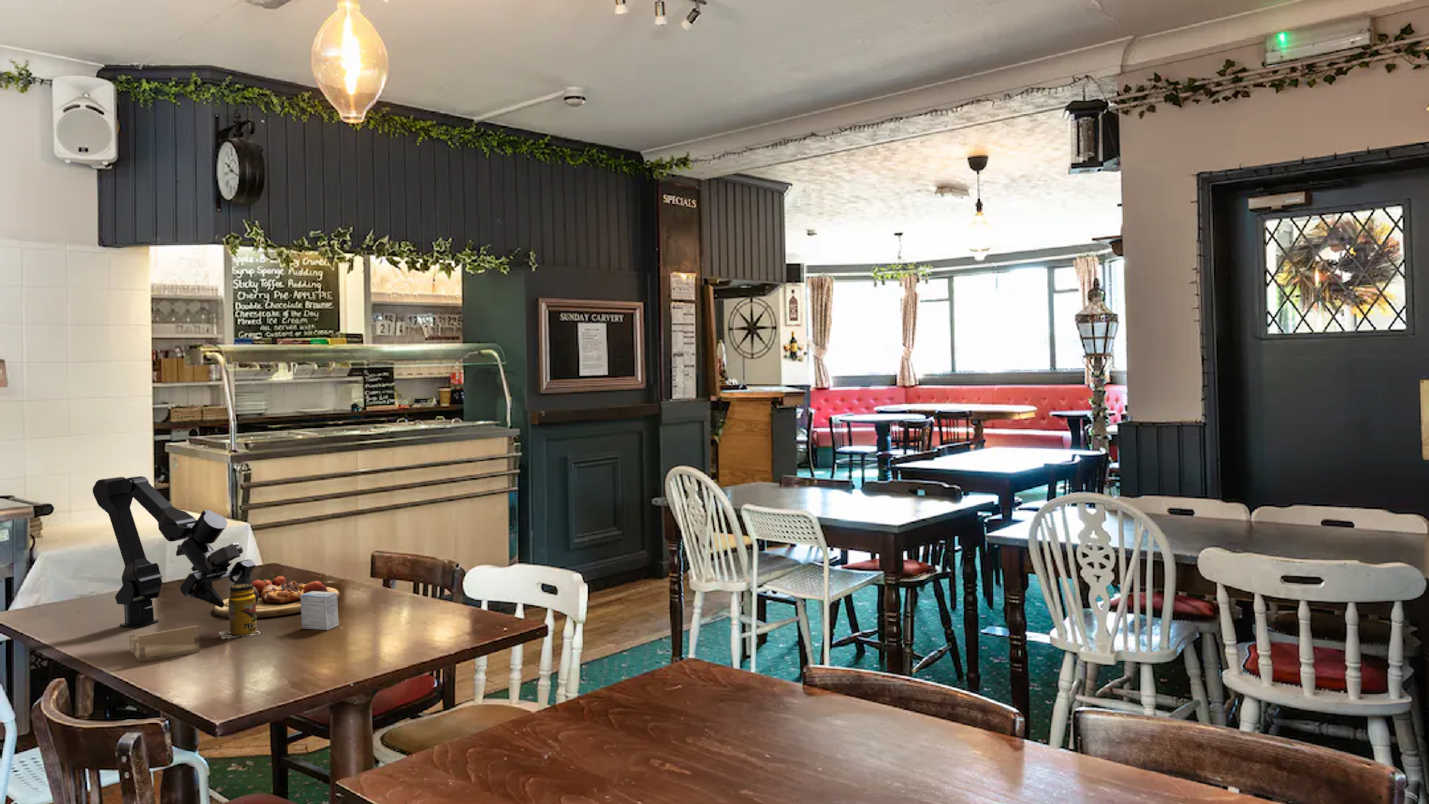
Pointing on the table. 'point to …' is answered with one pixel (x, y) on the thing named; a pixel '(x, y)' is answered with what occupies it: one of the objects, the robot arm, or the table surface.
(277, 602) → the wooden plate with food
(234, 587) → the condiment
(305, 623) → the medicine box
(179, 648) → the drawer
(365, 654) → the table surface
